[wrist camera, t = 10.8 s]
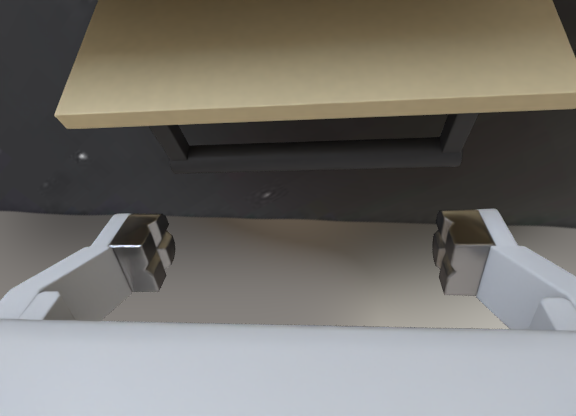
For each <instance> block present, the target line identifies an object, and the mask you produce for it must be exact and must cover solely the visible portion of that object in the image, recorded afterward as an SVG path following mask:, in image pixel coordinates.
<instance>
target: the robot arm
mask: <svg viewBox="0 0 576 416" xmlns="http://www.w3.org/2000/svg"><path fill="white" fill-rule="evenodd" d="M436 224H437V227H438V231H437V232H436V233H435V234H434V236H433V258H434V262H435V265H436V266H437V267H438V268H439V269H440V275H439V279H440V282H441V285H442V289H443V292H444V295H465V296H467V295H468V296H476V298H478V299H479V300H480V301H481V302H482V303H483V304H484V305H485V306H486V307H487V308H488V309H489V310H490V311H491V312H492V313H494V315H495V316H497V317H498V318H499V319H500V320H501V321H502V322H503V323H504V324H505V325H506V326H507V327H508V328H509V329H471V328H415V327H414V328H413V327H368V326H325V325H323V326H322V325H273V324H270V325H269V324H222V323H172V322H124V321H101V320H102V319H104V318H105V317H106V316H107V315H108V314H109V313H110V312H112V311H113V310H114V309H115V308H116V307H117V306H118V305H120V304H121V303H122V302H123V301H124V300H125V299H126V298H127V297H129V296H130V295H131V294H132V292H158V291H159V290H160V288H161V286H162V284H163V281H164V279H165V277H166V273H165V269H166V268H167V267H169V266H170V265H171V264H172V261H173V259H174V255H175V242H174V239H173V236H172V235H171V234H170V233H169V232H168V231H166V229H167V227H168V225H169V223H168V221H167V218H166V216H165V215H163V214H115V215H113V217H112V218H111V219H110V221H109V222H108V223H107V225H106V226H105V227H104V229H103V230H102V232H101V233H100V234H99V236H98V237H97V238H96V240H95V241H94V242H93V244H92V245H91V246H90V247H85V248H83V249H81V250H79V251H78V252H76V253H74V254H72V255H70V256H69V257H67V258H65V259H63V260H62V261H60V262H58V263H56V264H55V265H53V266H51V267H49V268H48V269H46V270H44V271H42V272H40V273H39V274H37V275H35V276H33V277H32V278H30V279H28V280H26V281H24V282H23V283H21V284H19V285H17V286H16V287H14V288H12V289H11V290H9V291H8V293H7V294H6V295H5V296H4V297H3V299H2V300H1V301H0V416H576V276H575V275H573V274H571V273H570V272H568V271H566V270H564V269H563V268H561V267H559V266H558V265H556V264H554V263H552V262H551V261H549V260H547V259H546V258H544V257H542V256H541V255H539V254H537V253H535V252H534V251H532V250H530V249H529V248H527V247H525V246H518V244H517V243H516V241H515V239H514V237H513V236H512V234H511V232H510V231H509V229H508V227H507V225H506V224H505V222H504V220H503V218H502V217H501V215H500V213H499V212H498V210H496V209H476V210H441V211H439V212H438V214H437V219H436Z"/></svg>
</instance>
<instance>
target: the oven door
mask: <svg viewBox="0 0 576 416" xmlns="http://www.w3.org/2000/svg"><path fill="white" fill-rule="evenodd" d="M575 108H576V58H575V55H574V53H573V50H572V48H571V46H570V43H569V41H568V38H567V36H566V33H565V31H564V28H563V26H562V23H561V21H560V18H559V16H558V13H557V11H556V8H555V6H554V3H553V1H552V0H98V3H97V5H96V8H95V10H94V13H93V16H92V18H91V21H90V23H89V26H88V29H87V31H86V34H85V36H84V39H83V42H82V44H81V47H80V49H79V52H78V55H77V57H76V60H75V62H74V65H73V68H72V70H71V73H70V75H69V78H68V81H67V83H66V86H65V88H64V91H63V94H62V96H61V99H60V101H59V104H58V107H57V109H56V112H55V116H56V118H57V119H58V120H59V121H60V122H61V123H62V124H63V125H64V126H65V127H66V128H67V129H82V128H107V127H132V126H149V128H150V129H151V131H152V132H153V134H154V135H155V137H156V138H157V140H158V141H159V143H160V144H161V146H162V147H163V149H164V151H165V152H166V154H167V155H168V157H169V162H170V167H171V170H172V171H173V173H175V174H184V173H223V172H262V171H300V170H339V169H378V168H417V167H456V166H459V165H460V164H461V161H462V156H463V146H464V144H465V142H466V140H467V138H468V136H469V134H470V132H471V129H472V127H473V125H474V123H475V121H476V119H477V117H478V115H479V113H484V112H509V111H534V110H559V109H575ZM434 114H448V117H447V120H446V122H445V125H444V128H443V130H442V133H441V136H440V137H433V138H404V139H374V140H344V141H314V142H285V143H255V144H225V145H195V146H189V144H188V142H187V140H186V139H185V137H184V135H183V133H182V131H181V129H180V128H179V126H178V125H183V124H208V123H233V122H258V121H283V120H308V119H333V118H358V117H383V116H409V115H434Z"/></svg>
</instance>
